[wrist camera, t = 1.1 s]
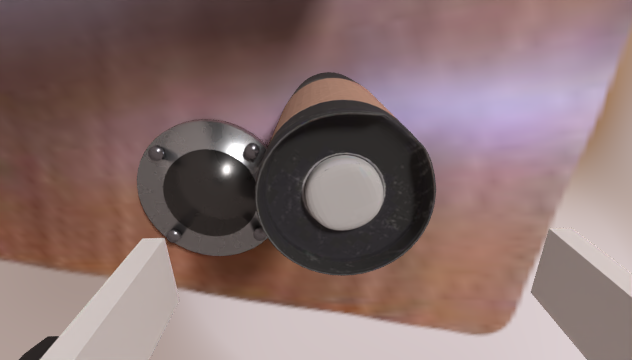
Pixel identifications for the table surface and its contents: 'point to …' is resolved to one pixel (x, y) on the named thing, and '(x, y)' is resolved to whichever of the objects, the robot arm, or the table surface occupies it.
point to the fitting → (203, 186)
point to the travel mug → (343, 180)
